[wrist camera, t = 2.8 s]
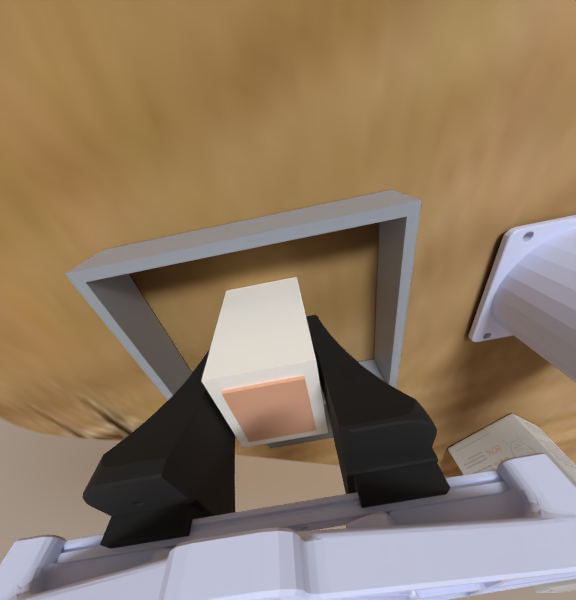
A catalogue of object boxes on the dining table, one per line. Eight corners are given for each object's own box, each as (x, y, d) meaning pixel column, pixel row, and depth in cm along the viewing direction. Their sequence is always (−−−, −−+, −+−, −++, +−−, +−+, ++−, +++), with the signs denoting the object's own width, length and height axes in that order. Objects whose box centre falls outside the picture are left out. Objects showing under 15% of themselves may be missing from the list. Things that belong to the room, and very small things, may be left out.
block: (296, 276, 13) (316, 363, 8) (308, 341, 16) (328, 436, 10) (226, 290, 13) (200, 384, 8) (250, 352, 16) (242, 451, 11)
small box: (472, 456, 28) (563, 593, 20) (445, 447, 26) (533, 595, 18) (537, 423, 25) (683, 572, 16) (511, 411, 23) (662, 572, 14)
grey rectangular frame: (391, 189, 11) (421, 200, 9) (380, 362, 17) (395, 391, 15) (102, 250, 11) (64, 273, 9) (199, 395, 18) (190, 428, 16)
